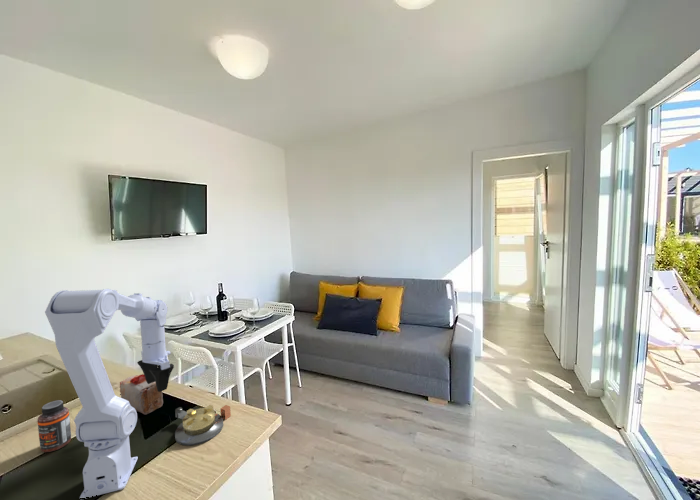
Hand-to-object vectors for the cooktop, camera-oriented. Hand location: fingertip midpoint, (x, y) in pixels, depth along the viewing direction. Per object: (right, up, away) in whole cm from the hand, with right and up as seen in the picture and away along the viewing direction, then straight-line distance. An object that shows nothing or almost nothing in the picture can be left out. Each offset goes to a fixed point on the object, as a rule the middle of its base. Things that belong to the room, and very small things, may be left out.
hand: (156, 386), depth 90 cm
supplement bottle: (-21, -12, -9) cm, 25 cm away
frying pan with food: (+15, -10, -3) cm, 19 cm away
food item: (-10, -10, +8) cm, 16 cm away
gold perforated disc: (+12, -9, -3) cm, 15 cm away
